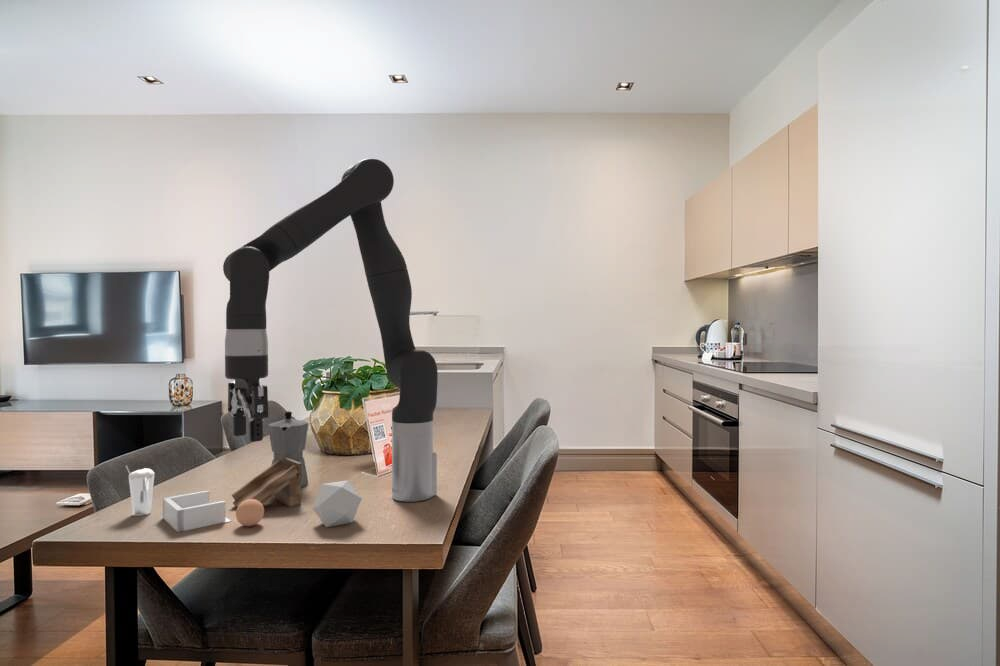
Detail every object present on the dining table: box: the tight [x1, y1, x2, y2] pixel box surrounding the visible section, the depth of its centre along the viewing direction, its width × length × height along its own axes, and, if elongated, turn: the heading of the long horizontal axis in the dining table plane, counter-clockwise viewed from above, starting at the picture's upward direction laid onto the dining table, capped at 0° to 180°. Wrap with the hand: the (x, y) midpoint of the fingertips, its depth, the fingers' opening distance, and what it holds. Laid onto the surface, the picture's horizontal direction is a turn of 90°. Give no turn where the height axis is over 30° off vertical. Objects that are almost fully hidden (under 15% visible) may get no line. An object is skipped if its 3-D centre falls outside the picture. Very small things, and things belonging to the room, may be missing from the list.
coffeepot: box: [267, 410, 309, 488], centre depth 141 cm, size 15×9×18 cm, turn 12°
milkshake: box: [125, 465, 155, 517], centre depth 118 cm, size 4×5×10 cm
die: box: [312, 480, 363, 528], centre depth 112 cm, size 8×9×10 cm
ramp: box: [231, 457, 302, 509], centre depth 123 cm, size 12×8×9 cm
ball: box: [235, 499, 265, 527], centre depth 110 cm, size 5×5×5 cm
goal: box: [162, 490, 227, 533], centre depth 114 cm, size 8×11×4 cm
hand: (247, 438), depth 109 cm, fingers open, 8 cm apart
